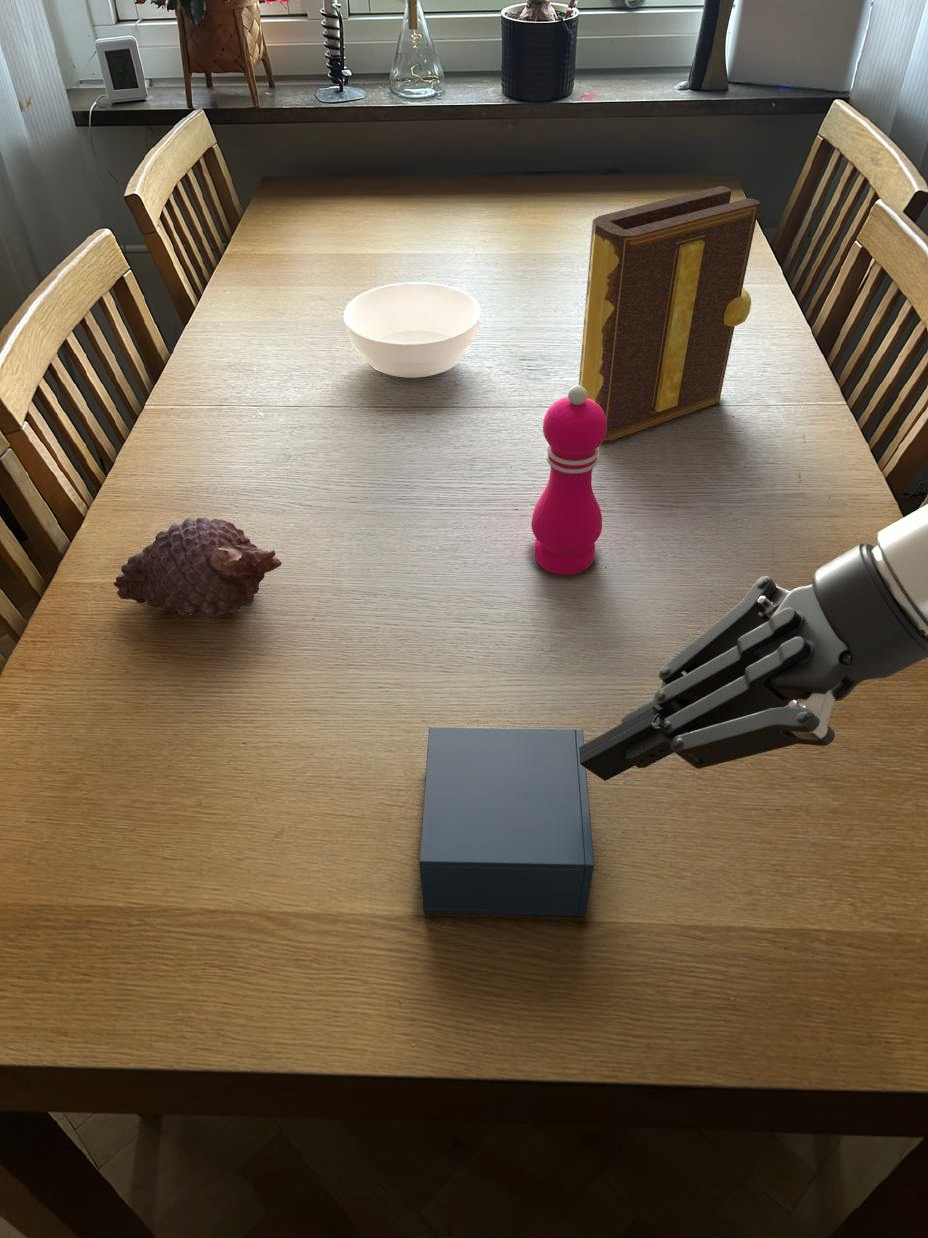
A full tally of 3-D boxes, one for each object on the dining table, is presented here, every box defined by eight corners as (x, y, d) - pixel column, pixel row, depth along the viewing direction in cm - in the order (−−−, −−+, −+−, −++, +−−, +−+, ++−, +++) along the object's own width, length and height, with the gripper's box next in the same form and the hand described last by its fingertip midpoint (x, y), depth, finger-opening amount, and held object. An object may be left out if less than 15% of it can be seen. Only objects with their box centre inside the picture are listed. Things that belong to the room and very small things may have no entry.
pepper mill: (583, 529, 101) (600, 362, 87) (608, 571, 96) (630, 400, 82) (520, 541, 100) (527, 373, 86) (542, 584, 95) (554, 413, 81)
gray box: (583, 729, 72) (429, 726, 72) (594, 865, 63) (419, 861, 64) (576, 783, 77) (432, 780, 77) (586, 916, 68) (423, 913, 69)
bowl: (327, 384, 124) (321, 333, 119) (376, 323, 137) (372, 275, 132) (458, 404, 120) (457, 352, 115) (496, 339, 133) (496, 290, 128)
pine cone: (107, 646, 89) (75, 545, 87) (158, 620, 98) (130, 529, 96) (276, 614, 85) (247, 507, 83) (312, 591, 94) (287, 494, 92)
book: (604, 449, 112) (628, 242, 95) (564, 417, 118) (579, 215, 100) (742, 400, 120) (786, 200, 103) (698, 372, 126) (734, 177, 108)
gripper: (977, 709, 51) (634, 867, 63) (903, 556, 60) (617, 718, 72) (910, 639, 47) (560, 820, 59) (842, 488, 56) (553, 670, 69)
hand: (592, 764), depth 66 cm, fingers closed
